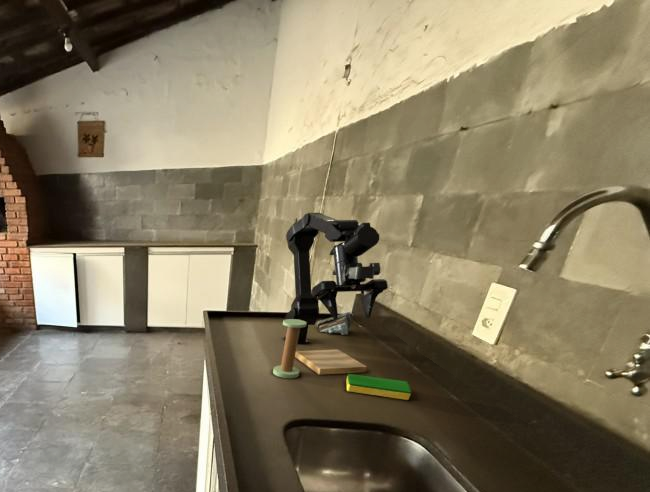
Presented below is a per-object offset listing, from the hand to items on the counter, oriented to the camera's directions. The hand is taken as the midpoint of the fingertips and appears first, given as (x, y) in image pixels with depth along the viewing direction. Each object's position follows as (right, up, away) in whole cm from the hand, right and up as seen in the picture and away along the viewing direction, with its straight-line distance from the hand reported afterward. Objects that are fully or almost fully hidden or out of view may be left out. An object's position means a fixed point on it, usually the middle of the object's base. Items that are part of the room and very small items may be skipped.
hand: (352, 318), depth 115 cm
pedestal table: (-16, -15, +6) cm, 23 cm away
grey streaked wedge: (+16, +3, +41) cm, 44 cm away
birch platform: (0, -12, +12) cm, 17 cm away
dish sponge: (+3, -20, -5) cm, 21 cm away
